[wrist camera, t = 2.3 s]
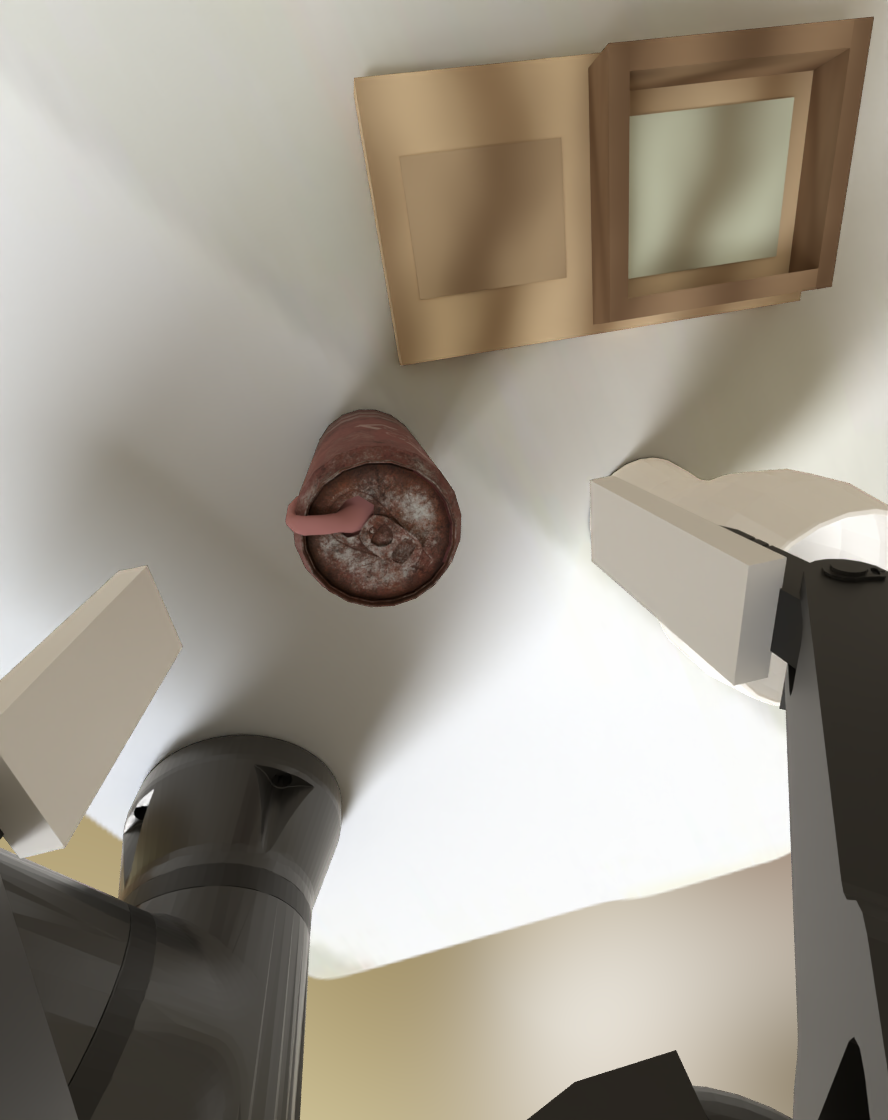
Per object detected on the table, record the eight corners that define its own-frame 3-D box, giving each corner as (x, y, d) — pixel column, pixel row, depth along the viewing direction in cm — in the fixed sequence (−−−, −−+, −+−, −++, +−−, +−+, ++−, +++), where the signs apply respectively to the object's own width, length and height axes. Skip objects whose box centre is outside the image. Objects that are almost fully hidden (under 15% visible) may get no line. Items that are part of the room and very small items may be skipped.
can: (308, 407, 28) (273, 449, 15) (419, 410, 29) (472, 452, 16) (315, 509, 30) (288, 620, 17) (417, 508, 31) (461, 612, 19)
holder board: (399, 365, 28) (406, 366, 25) (353, 94, 23) (354, 52, 20) (779, 303, 30) (830, 296, 27) (810, 46, 25) (876, 1, 22)
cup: (736, 462, 34) (995, 532, 20) (666, 594, 37) (848, 731, 24) (609, 414, 31) (810, 458, 17) (545, 562, 34) (673, 697, 21)
